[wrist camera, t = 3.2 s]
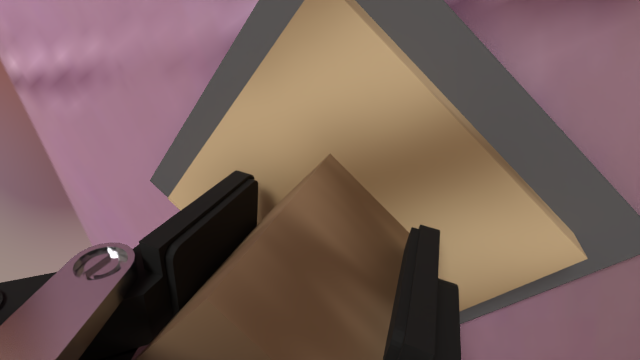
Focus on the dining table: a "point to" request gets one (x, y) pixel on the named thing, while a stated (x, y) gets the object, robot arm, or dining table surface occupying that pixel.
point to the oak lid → (351, 200)
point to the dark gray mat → (472, 102)
